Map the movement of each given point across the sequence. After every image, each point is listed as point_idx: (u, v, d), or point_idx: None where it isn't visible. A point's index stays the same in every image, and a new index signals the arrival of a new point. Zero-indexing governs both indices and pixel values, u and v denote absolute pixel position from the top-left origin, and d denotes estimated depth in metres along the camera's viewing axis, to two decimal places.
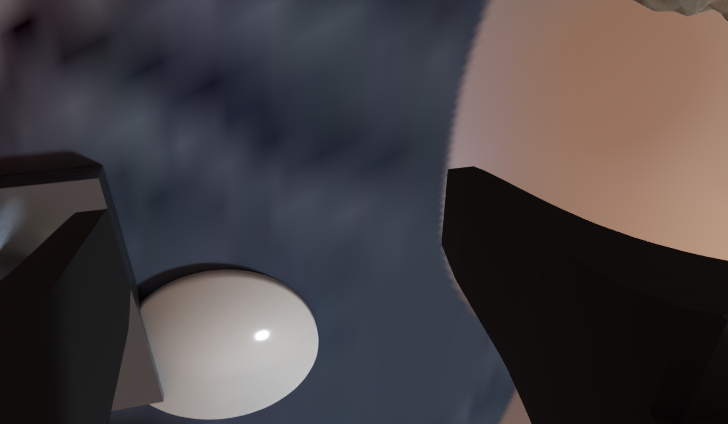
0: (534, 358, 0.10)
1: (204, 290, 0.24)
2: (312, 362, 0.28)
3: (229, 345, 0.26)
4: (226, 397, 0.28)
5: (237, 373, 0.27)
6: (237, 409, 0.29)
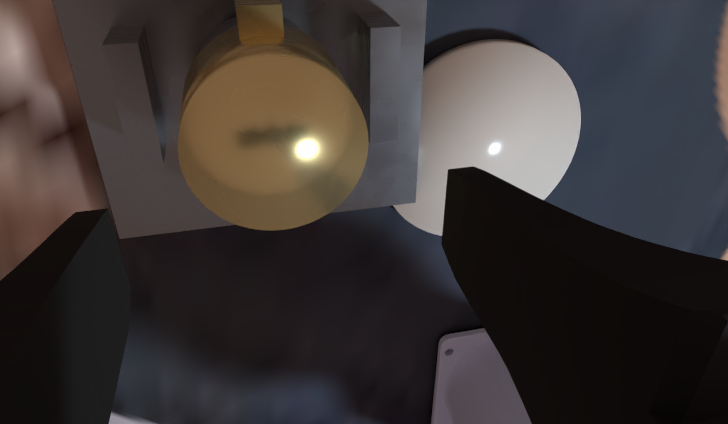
0: (534, 358, 0.10)
1: (488, 58, 0.22)
2: (564, 171, 0.26)
3: (491, 137, 0.24)
4: None
5: None
6: None
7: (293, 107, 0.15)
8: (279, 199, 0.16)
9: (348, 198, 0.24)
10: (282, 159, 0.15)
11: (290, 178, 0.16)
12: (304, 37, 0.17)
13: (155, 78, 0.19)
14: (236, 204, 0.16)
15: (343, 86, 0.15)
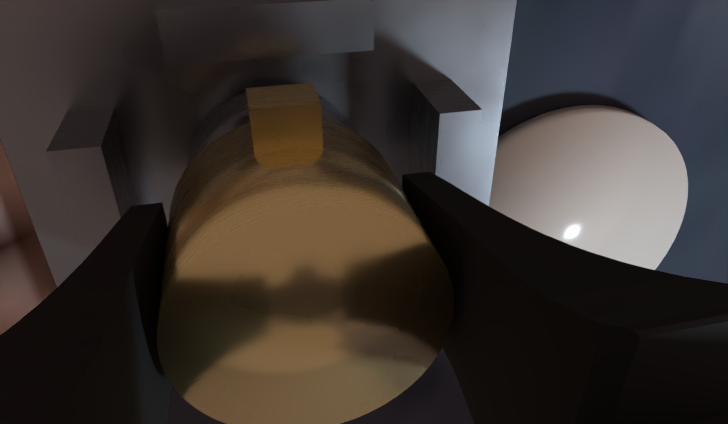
0: (478, 368, 0.10)
1: (579, 132, 0.17)
2: (659, 261, 0.20)
3: (574, 227, 0.19)
4: None
5: None
6: None
7: (343, 274, 0.09)
8: (315, 393, 0.10)
9: None
10: (322, 343, 0.10)
11: (333, 365, 0.10)
12: (350, 139, 0.11)
13: (132, 177, 0.14)
14: (250, 405, 0.10)
15: (422, 239, 0.09)
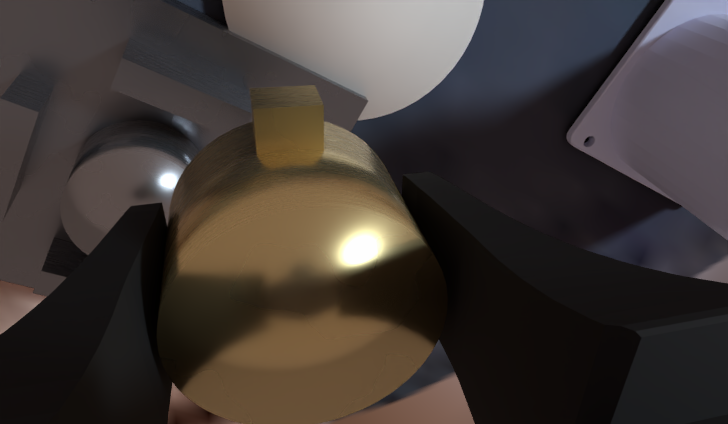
0: (479, 368, 0.10)
1: None
2: None
3: None
4: (426, 40, 0.20)
5: (402, 1, 0.19)
6: (454, 43, 0.21)
7: (341, 272, 0.09)
8: (309, 389, 0.11)
9: None
10: (318, 339, 0.10)
11: (327, 361, 0.10)
12: (349, 141, 0.11)
13: None
14: (244, 399, 0.10)
15: (419, 240, 0.09)
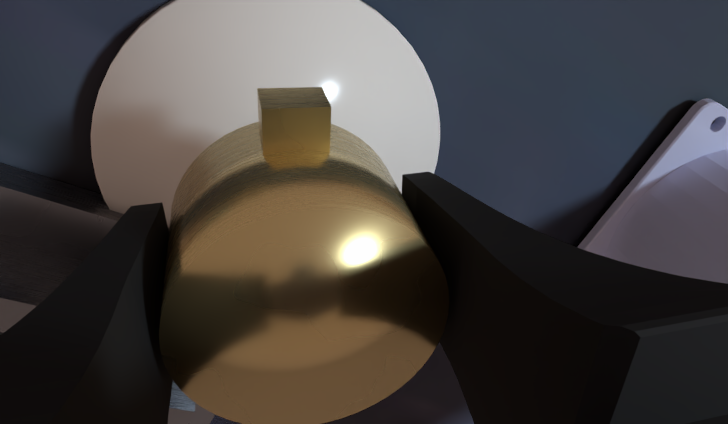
0: (478, 368, 0.10)
1: (121, 109, 0.13)
2: (406, 44, 0.14)
3: None
4: None
5: None
6: None
7: (345, 274, 0.09)
8: (308, 390, 0.11)
9: None
10: (320, 340, 0.10)
11: (327, 363, 0.10)
12: (354, 144, 0.11)
13: None
14: (244, 399, 0.10)
15: (423, 244, 0.09)
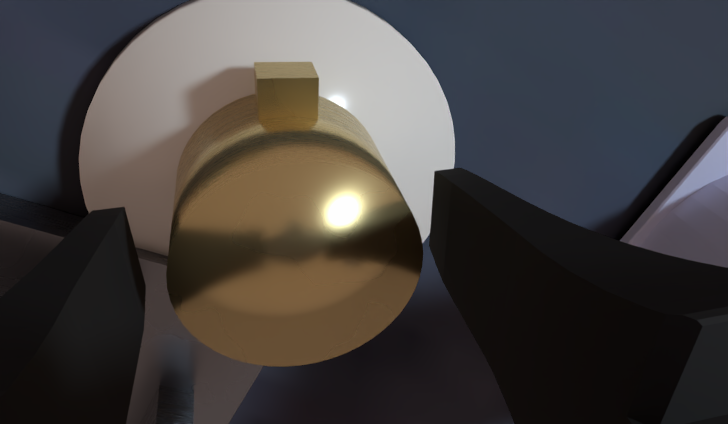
0: (518, 361, 0.10)
1: (111, 130, 0.12)
2: (419, 59, 0.13)
3: None
4: None
5: None
6: None
7: (329, 223, 0.11)
8: (298, 331, 0.12)
9: (238, 371, 0.16)
10: (307, 284, 0.11)
11: (315, 306, 0.12)
12: (341, 114, 0.13)
13: None
14: (240, 337, 0.12)
15: (398, 198, 0.11)
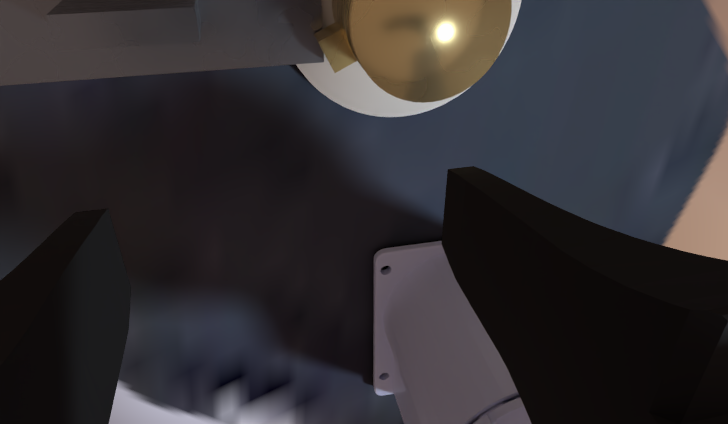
0: (534, 358, 0.10)
1: None
2: (508, 34, 0.22)
3: None
4: None
5: None
6: (405, 103, 0.22)
7: (474, 20, 0.17)
8: (390, 45, 0.17)
9: (238, 50, 0.19)
10: (428, 30, 0.17)
11: (413, 45, 0.17)
12: None
13: None
14: (373, 10, 0.17)
15: (500, 49, 0.18)
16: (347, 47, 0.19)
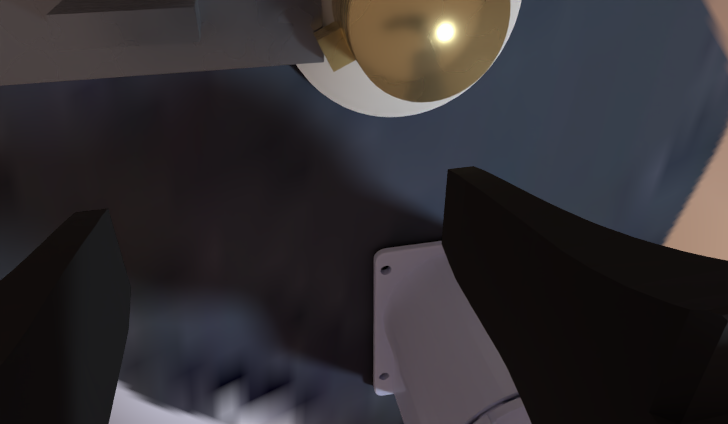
0: (534, 358, 0.10)
1: None
2: (508, 34, 0.22)
3: None
4: None
5: None
6: (405, 103, 0.22)
7: (473, 20, 0.17)
8: (387, 45, 0.17)
9: (238, 50, 0.19)
10: (426, 30, 0.17)
11: (411, 45, 0.17)
12: None
13: None
14: (371, 9, 0.17)
15: (498, 50, 0.18)
16: (346, 46, 0.19)
